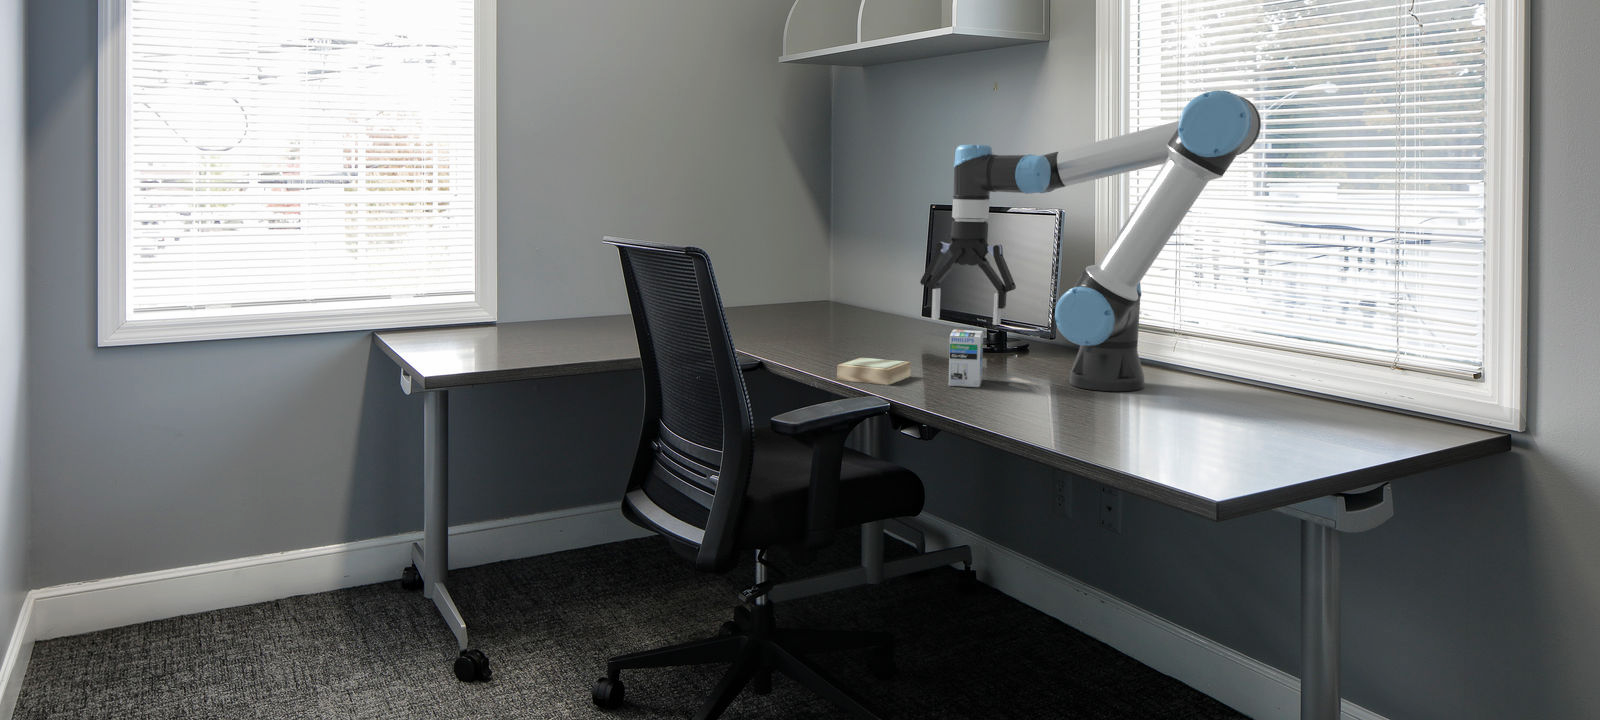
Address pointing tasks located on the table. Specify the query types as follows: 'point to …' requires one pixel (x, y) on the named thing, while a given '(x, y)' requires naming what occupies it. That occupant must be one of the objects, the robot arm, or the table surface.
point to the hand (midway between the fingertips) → (965, 321)
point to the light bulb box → (965, 358)
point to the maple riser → (874, 371)
